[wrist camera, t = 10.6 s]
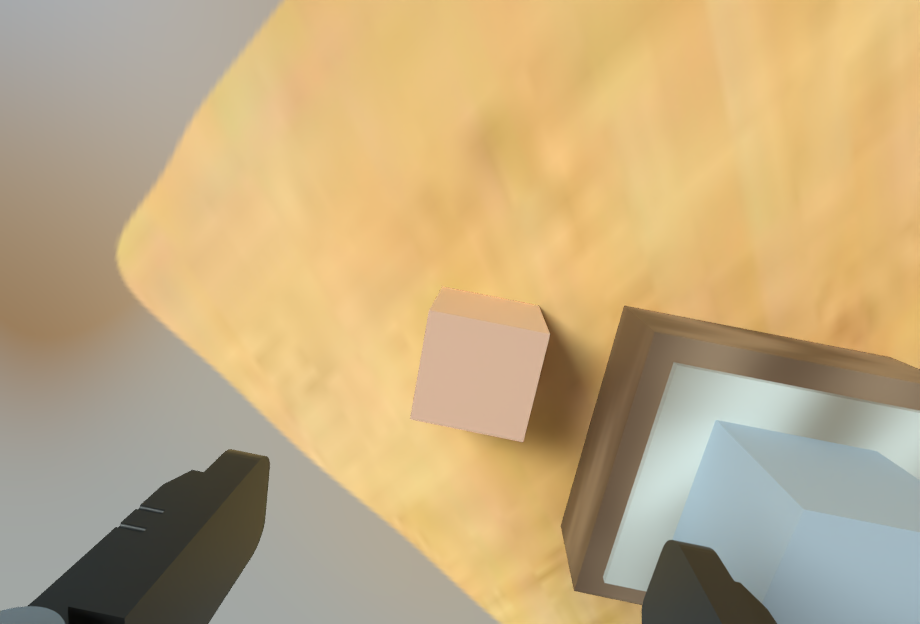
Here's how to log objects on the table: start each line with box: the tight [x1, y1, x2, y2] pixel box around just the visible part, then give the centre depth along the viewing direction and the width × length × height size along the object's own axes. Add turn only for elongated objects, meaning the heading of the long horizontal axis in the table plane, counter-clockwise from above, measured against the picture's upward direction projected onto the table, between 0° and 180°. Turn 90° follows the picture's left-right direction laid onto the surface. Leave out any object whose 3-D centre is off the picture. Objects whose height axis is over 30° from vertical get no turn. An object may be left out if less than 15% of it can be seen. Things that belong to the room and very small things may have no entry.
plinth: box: [561, 306, 920, 605], centre depth 20 cm, size 12×12×4 cm
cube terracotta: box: [410, 286, 550, 442], centre depth 19 cm, size 4×4×4 cm
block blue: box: [672, 420, 920, 624], centre depth 15 cm, size 6×6×5 cm
